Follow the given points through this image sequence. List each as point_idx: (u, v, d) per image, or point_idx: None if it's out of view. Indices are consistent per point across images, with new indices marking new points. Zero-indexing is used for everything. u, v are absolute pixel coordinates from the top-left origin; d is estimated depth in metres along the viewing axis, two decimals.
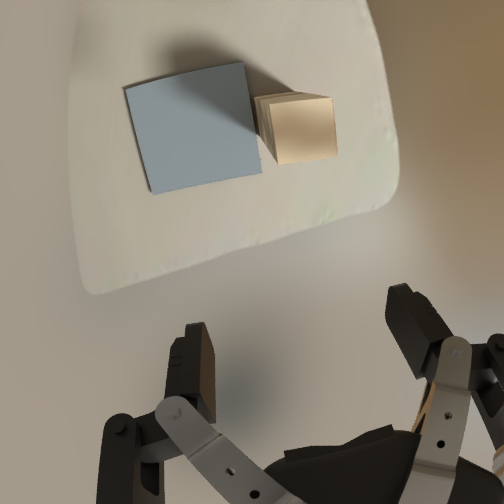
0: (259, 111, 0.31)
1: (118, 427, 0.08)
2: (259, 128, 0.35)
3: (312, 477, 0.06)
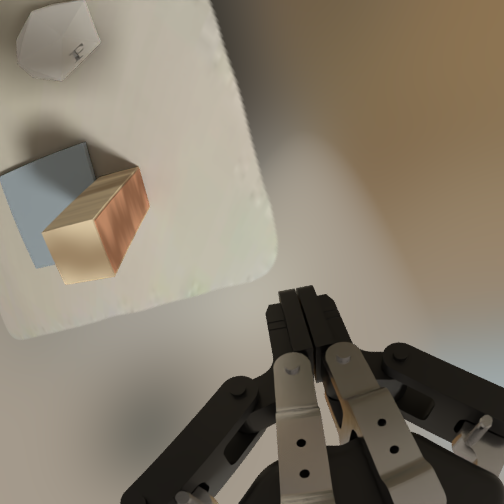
0: None
1: (238, 390, 0.09)
2: None
3: None
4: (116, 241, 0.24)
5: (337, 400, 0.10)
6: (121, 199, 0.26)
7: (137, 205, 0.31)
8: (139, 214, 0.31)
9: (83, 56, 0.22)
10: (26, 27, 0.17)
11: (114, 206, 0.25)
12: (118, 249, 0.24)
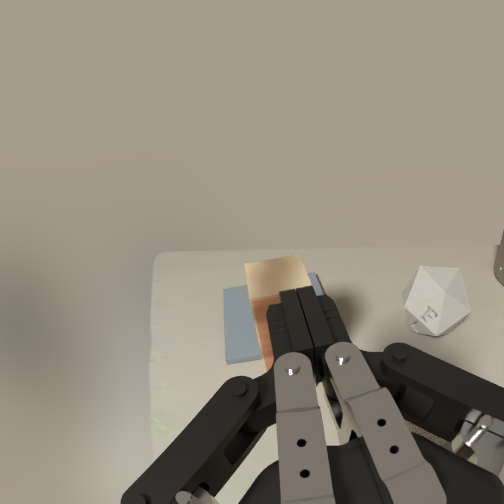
0: None
1: (239, 390, 0.09)
2: None
3: None
4: None
5: (337, 400, 0.10)
6: None
7: None
8: None
9: (425, 322, 0.31)
10: (447, 268, 0.32)
11: None
12: None
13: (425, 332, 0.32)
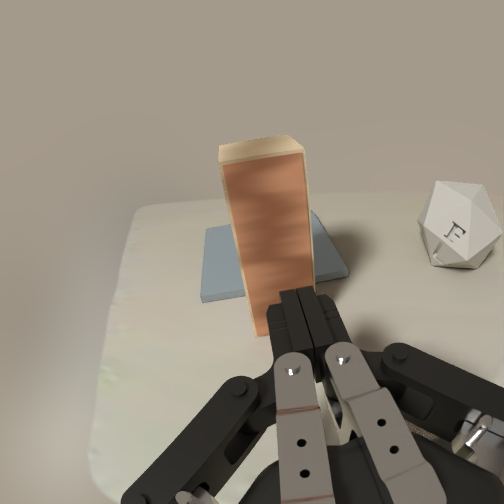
0: None
1: (238, 389, 0.09)
2: None
3: None
4: (255, 196, 0.19)
5: (337, 400, 0.10)
6: (298, 245, 0.21)
7: (273, 294, 0.23)
8: (259, 294, 0.22)
9: (451, 243, 0.24)
10: None
11: (297, 218, 0.20)
12: (244, 194, 0.19)
13: (451, 259, 0.25)
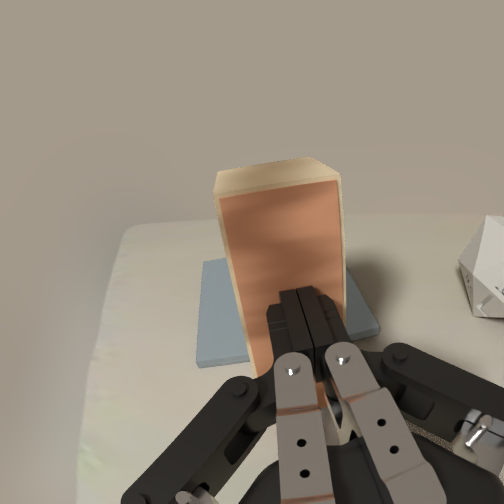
0: None
1: (239, 389, 0.09)
2: None
3: None
4: (268, 245, 0.13)
5: (337, 400, 0.10)
6: None
7: None
8: None
9: (503, 297, 0.17)
10: None
11: (327, 275, 0.14)
12: (252, 242, 0.13)
13: (500, 314, 0.18)
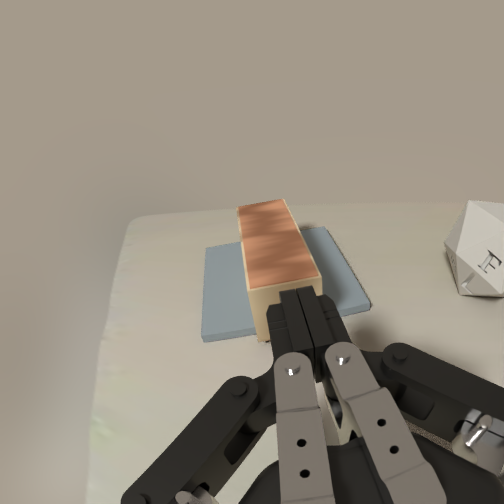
0: None
1: (238, 390, 0.09)
2: None
3: None
4: (255, 212, 0.31)
5: (337, 400, 0.10)
6: (285, 226, 0.27)
7: (267, 252, 0.24)
8: (254, 253, 0.24)
9: (485, 274, 0.20)
10: (502, 204, 0.21)
11: (282, 216, 0.29)
12: (249, 213, 0.31)
13: (483, 291, 0.21)
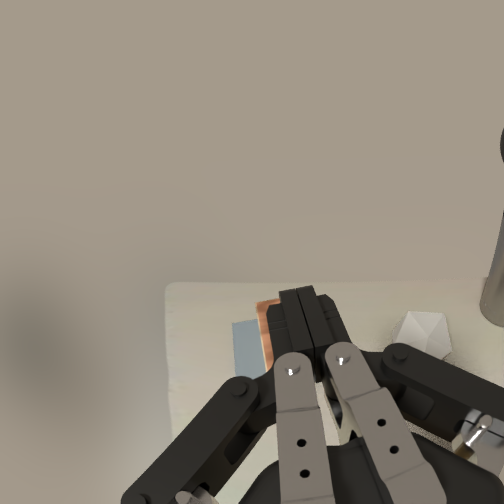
0: None
1: (238, 390, 0.09)
2: None
3: None
4: None
5: (337, 400, 0.10)
6: None
7: None
8: (269, 347, 0.40)
9: None
10: None
11: None
12: (264, 310, 0.46)
13: None
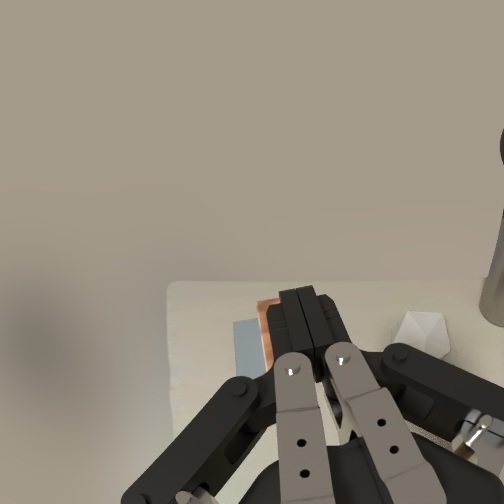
0: None
1: (239, 389, 0.09)
2: None
3: None
4: None
5: (337, 400, 0.10)
6: None
7: None
8: (269, 346, 0.41)
9: None
10: None
11: None
12: (264, 309, 0.47)
13: None
